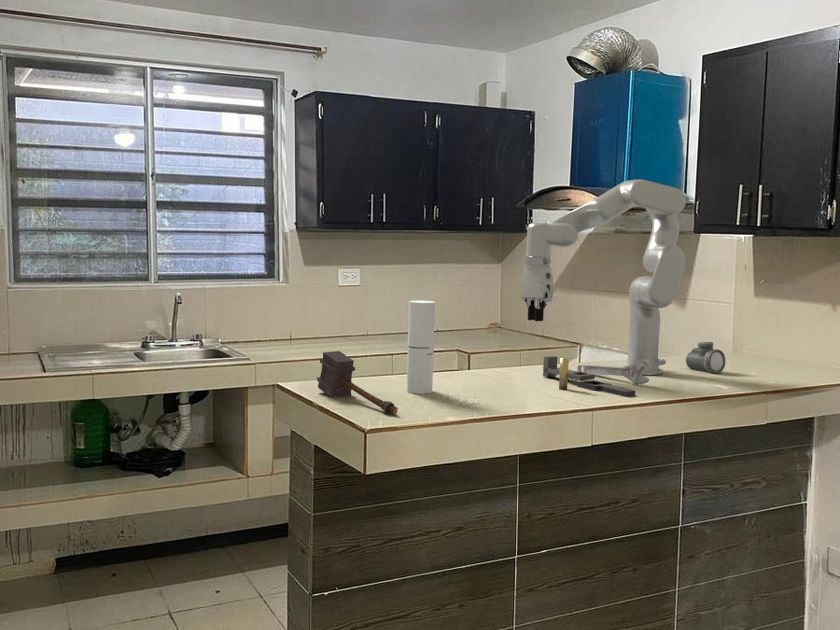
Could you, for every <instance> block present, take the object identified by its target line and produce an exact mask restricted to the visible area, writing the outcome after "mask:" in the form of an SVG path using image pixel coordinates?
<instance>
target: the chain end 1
mask: <svg viewBox="0 0 840 630" xmlns="http://www.w3.org/2000/svg"><path fill="white" fill-rule="evenodd" d="M595 375H596V374H590V373H586V372H583V371H582V372H581V371H578V370H577V371H576V370H572V369H568V379H569V380H570V379H571V380H574V381H578V382H583V381H591V380H596V379H595V378H596V376H595ZM557 376H560V366H559V367H558V356H556V355H548V356H543V367H542V377H544V378H553V377H557Z"/></svg>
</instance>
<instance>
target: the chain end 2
mask: <svg viewBox="0 0 840 630" xmlns="http://www.w3.org/2000/svg"><path fill="white" fill-rule="evenodd" d="M577 387H578V388H581V389H586V390H590V391H596V392H597V391H599V392H600V391H601V392H604V393H608V394H612V395H616V396H617V395H618V396H619V397H625V398H626V397H634V396H636V390H634V389H630V388H626V387H621V386H617V385H613V384H612V383H609V382H604V381H599V380H596V379H592V380H584V381H578V382H577Z"/></svg>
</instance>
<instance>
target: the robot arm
mask: <svg viewBox="0 0 840 630" xmlns="http://www.w3.org/2000/svg"><path fill="white" fill-rule="evenodd" d="M686 202H687V200H686V195H685V194H684V192H683V191H682V190H680V189H679V188H677V187H673V186H669V185H666V184H661V183H657V182H653V181H649V180H646V179H639V178H638V179H631V180H625V181H622V182H621V183H619V184H617V185H616V186H614V187H612V188H610V189H609V190H607V191H606V192H604V193H602V194H601V195H599V196H597V197H596V198H594V199H593V200H591V201H588V202H586V203H585V204H583V205H582V206H579V207H578V208H576V209H573V210H571V211H569V212H567V213H565V214H564V215H562V216H561V217H559V218H557V219H555V220H554V221H552V222H551V223H543V222H533V223H530V224H529V223H528V226H527V230H526V231H527V232H526V233H527V234H526V250H525V251H526V252H525V253H526V254H525V255H526V256H525V266H524V270H523V275H522V282H521V300H523V301H524V302H525V304H526V308H527V320H528V321H535V322H544V311H545V310H544V309H546V306H547V305H548V304H550V303H551V302H552V301H553V299H552V298H553V297H554V276H553V269H552V267H551V263H552V260H551V252H552V251H551V250H552V247H554V248H555V247H559V248H569V247H571V246H573V245H575V244H576V242H577V241H578V239H579V233H581V232H583V231H587V230H589V229H592V228H593V229H594V228H598V227H601V226H604V225H605V224H608V223H610V221H612V220H614V219H615V218H617V217H619V216H620V215H622V214H624V213H625V212H627V211H629V210H630V209H631V208H637V207H638V208H643V209H645V211H647V213H648V215H649V217H650V220H651V221H652V224H651V225H652V228H651V233H650V235H649V236H650V237H649V240H648V243H647V246H646V248H645V252H644V254H643V258H642V265H643V268H644V269H645V270H646V271H647V272H649V273H652V276H648V275H645V276H640V277H639V276H638V277H637V278H635V279H634V280H633V281H632V282H631V284H630V287H629V288H628V289H629V290H628V298H629V305H630V306H629V309H630V310H629V311H630V312H629V313H630V315H629V317H630V318H629V320H630V321H629V335H628V347H627V348H628V352H627V365H624V366H623V367H626V366H628V365H631V364H633V363H634V362H636V361H638V360H647V361H649V362H650V363H651V364H652V366H653V370H648V369H646V368H644V369H643V370H642V375H643V376H657V375H661V374H662V373H663V369H661V368H660V366H664V365H666V362H667V361H666V360H665V359H664V358H663V359H660V357H659V347H660V345H659V344H660V330H661V329H660V328H661V314H660V313H661V312H660V309H663V308H667V307H669V306H670V305H671V304H673V302H674V300H675V298H676V296H677V293H678V290H679V287H680V286H681V285H680V284H681V281H682V279H683V275H684V273H685V269H686V264H687V262H686V259H687V258H686V254H685V252H684V251H683V250H682V249H681V248H680V247H679V246H677V242H678V239H679V236H680V235H679V234H680V222H679V218H678V216H677V215H678V214H679V213H681V212H682V211H683V210H684V209H685V207H686V204H687V203H686Z"/></svg>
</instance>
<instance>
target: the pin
mask: <svg viewBox="0 0 840 630" xmlns="http://www.w3.org/2000/svg"><path fill="white" fill-rule="evenodd" d="M569 359H570V358H568V357H560V359H559V368H560V375H558V377H559V378H558V379H559V381H558V390H561V391H567V390H568V383H569V382H568V381H569V380H568V379H569V378H568V370H569V362H570V360H569Z"/></svg>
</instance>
